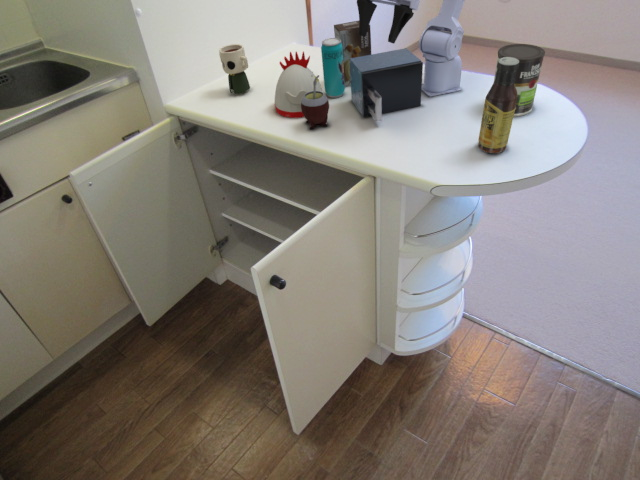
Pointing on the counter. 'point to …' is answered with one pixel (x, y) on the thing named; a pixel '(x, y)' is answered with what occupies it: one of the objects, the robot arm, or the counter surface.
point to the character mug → (235, 67)
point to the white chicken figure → (294, 86)
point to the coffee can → (524, 73)
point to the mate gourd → (315, 107)
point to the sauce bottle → (499, 108)
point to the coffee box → (352, 44)
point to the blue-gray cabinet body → (372, 64)
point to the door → (391, 89)
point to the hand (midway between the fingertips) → (376, 39)
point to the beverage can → (333, 67)
